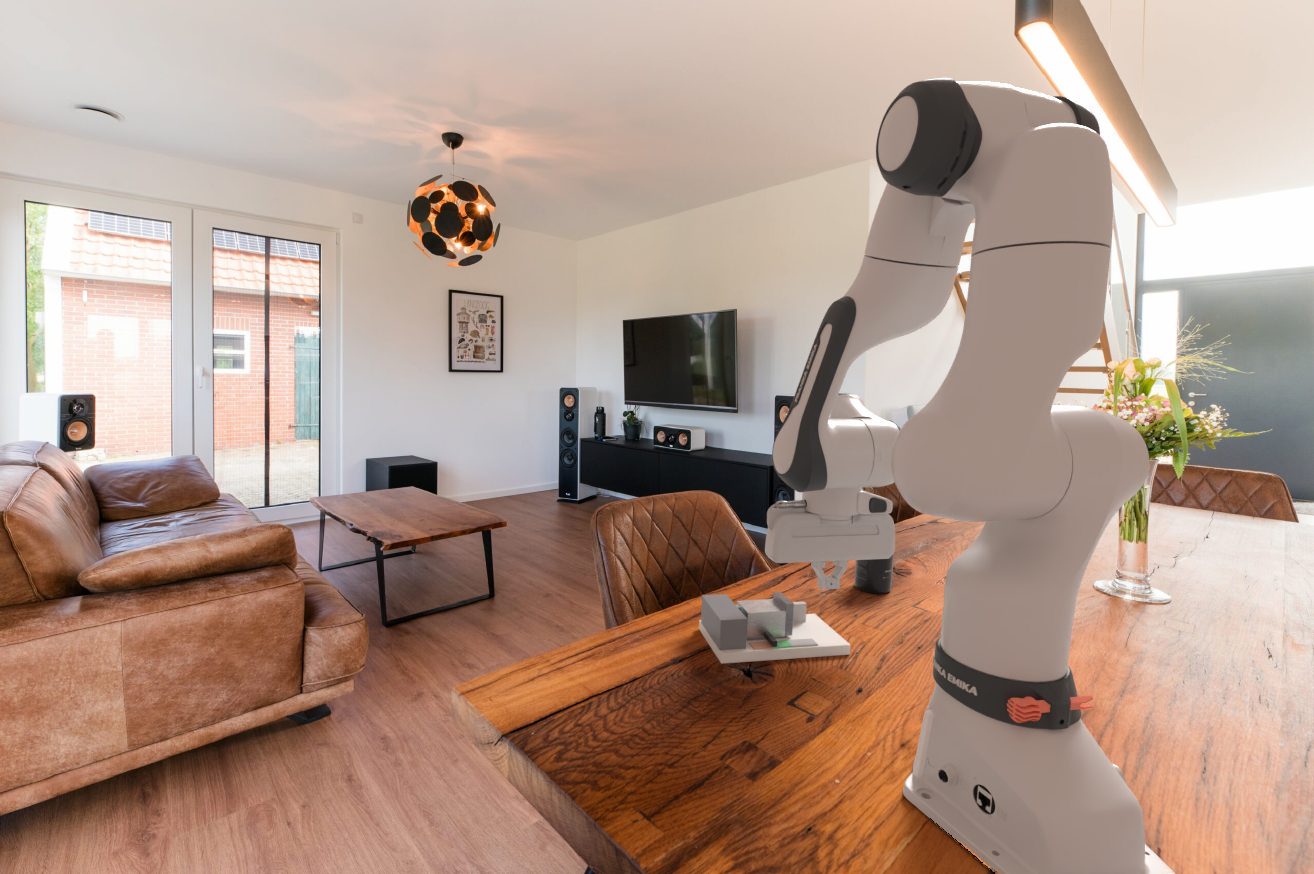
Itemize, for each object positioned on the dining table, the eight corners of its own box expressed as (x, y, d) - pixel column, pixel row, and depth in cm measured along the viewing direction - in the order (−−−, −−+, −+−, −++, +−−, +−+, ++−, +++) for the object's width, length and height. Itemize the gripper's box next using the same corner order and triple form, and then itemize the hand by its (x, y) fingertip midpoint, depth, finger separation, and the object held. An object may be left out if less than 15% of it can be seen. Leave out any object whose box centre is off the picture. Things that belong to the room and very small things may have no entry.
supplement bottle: (893, 596, 118) (898, 534, 116) (856, 592, 119) (860, 531, 118) (888, 584, 124) (892, 525, 123) (852, 581, 126) (856, 523, 124)
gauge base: (850, 654, 92) (852, 615, 92) (721, 663, 88) (722, 622, 88) (814, 622, 104) (816, 587, 103) (699, 628, 100) (700, 592, 99)
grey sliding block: (801, 646, 91) (803, 612, 90) (755, 649, 89) (756, 615, 89) (779, 622, 99) (780, 591, 98) (736, 625, 98) (737, 593, 97)
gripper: (775, 504, 90) (772, 597, 91) (902, 502, 94) (898, 591, 95) (760, 497, 96) (757, 584, 97) (880, 495, 100) (876, 579, 101)
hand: (828, 588), depth 96 cm, fingers closed
